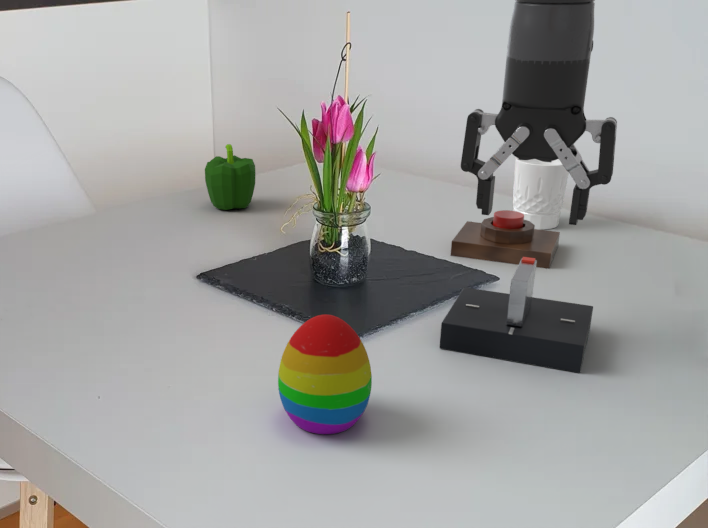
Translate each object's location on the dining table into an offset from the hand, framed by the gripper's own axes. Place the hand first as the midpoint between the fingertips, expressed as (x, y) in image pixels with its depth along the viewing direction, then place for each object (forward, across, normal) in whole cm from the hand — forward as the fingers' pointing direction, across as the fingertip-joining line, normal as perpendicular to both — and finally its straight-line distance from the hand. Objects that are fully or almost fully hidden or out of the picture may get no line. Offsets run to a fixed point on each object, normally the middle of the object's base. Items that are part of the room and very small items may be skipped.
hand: (529, 218), depth 85 cm
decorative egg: (+13, -13, -24) cm, 31 cm away
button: (+10, -6, +29) cm, 31 cm away
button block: (+14, -6, +29) cm, 32 cm away
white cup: (+14, -4, +44) cm, 46 cm away
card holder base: (+14, 0, 0) cm, 14 cm away
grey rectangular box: (+10, 0, 0) cm, 10 cm away
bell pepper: (+14, -51, +33) cm, 63 cm away
